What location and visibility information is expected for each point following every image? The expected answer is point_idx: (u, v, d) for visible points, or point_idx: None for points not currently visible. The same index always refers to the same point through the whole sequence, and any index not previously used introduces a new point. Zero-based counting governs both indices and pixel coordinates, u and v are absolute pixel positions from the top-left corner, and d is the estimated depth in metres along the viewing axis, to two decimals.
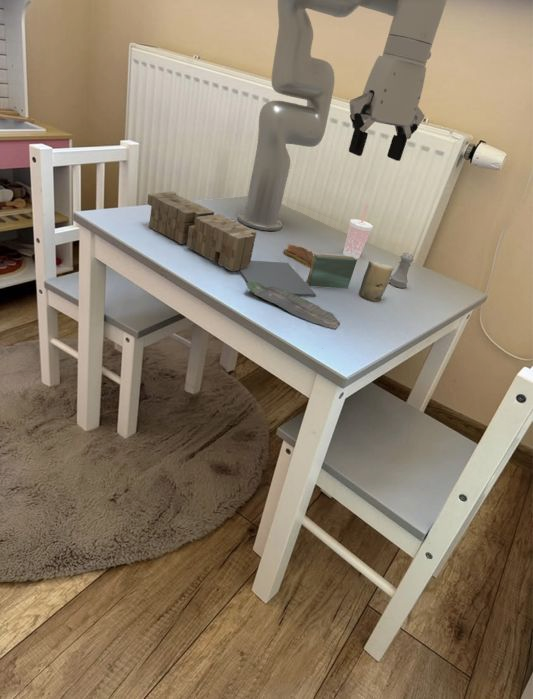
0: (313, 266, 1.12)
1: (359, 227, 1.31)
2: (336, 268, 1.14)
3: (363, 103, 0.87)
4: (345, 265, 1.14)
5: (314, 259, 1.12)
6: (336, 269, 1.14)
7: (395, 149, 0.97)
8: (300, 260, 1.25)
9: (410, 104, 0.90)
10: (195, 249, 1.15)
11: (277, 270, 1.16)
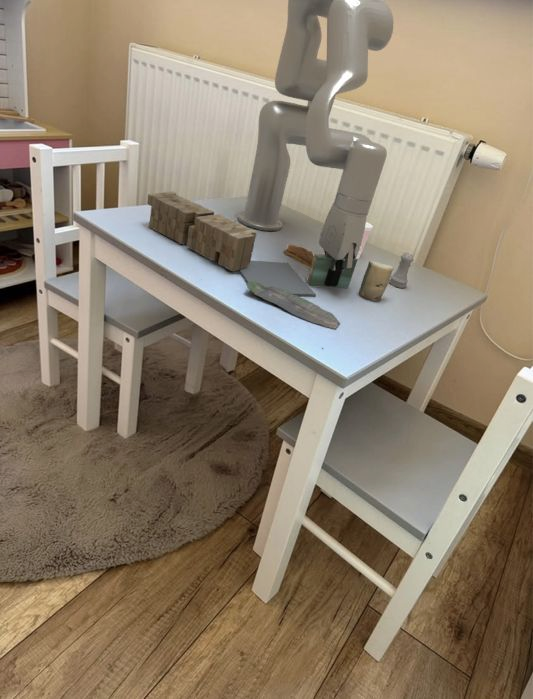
0: (313, 265, 1.12)
1: None
2: None
3: None
4: None
5: (314, 259, 1.12)
6: None
7: None
8: (300, 260, 1.25)
9: None
10: (195, 249, 1.15)
11: (277, 270, 1.16)
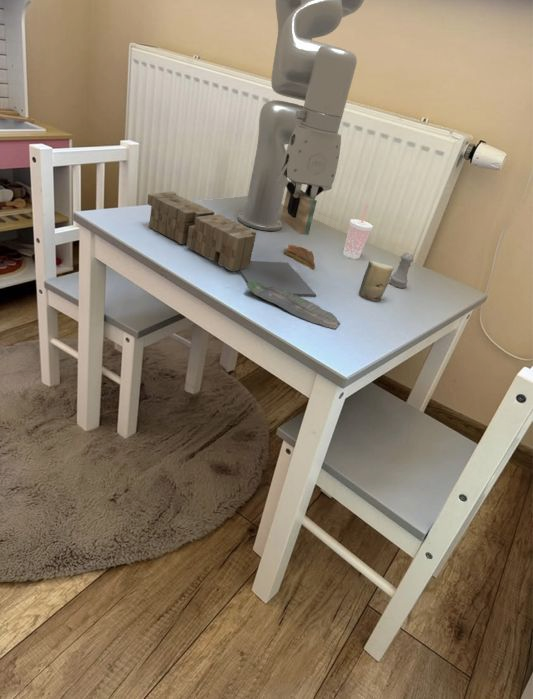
0: (309, 212, 1.01)
1: (359, 227, 1.31)
2: None
3: None
4: None
5: (310, 205, 1.01)
6: None
7: None
8: (300, 260, 1.25)
9: None
10: (195, 249, 1.15)
11: (277, 270, 1.16)
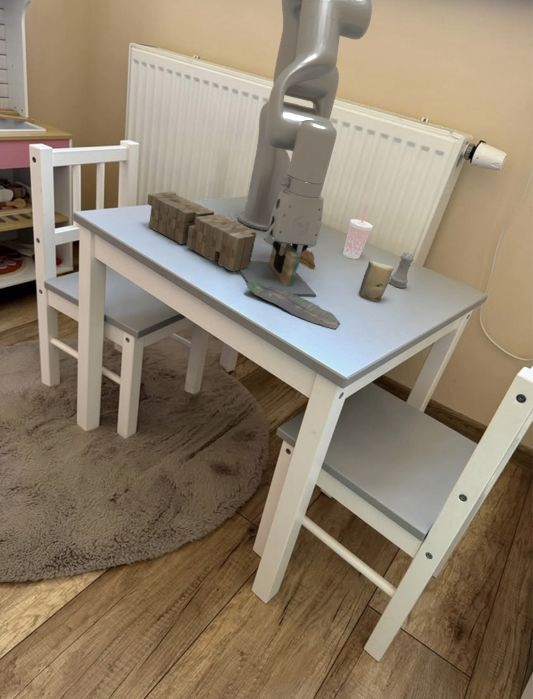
0: (293, 266, 1.08)
1: (359, 227, 1.31)
2: None
3: None
4: None
5: (294, 260, 1.07)
6: None
7: None
8: (301, 260, 1.25)
9: None
10: (195, 249, 1.15)
11: None
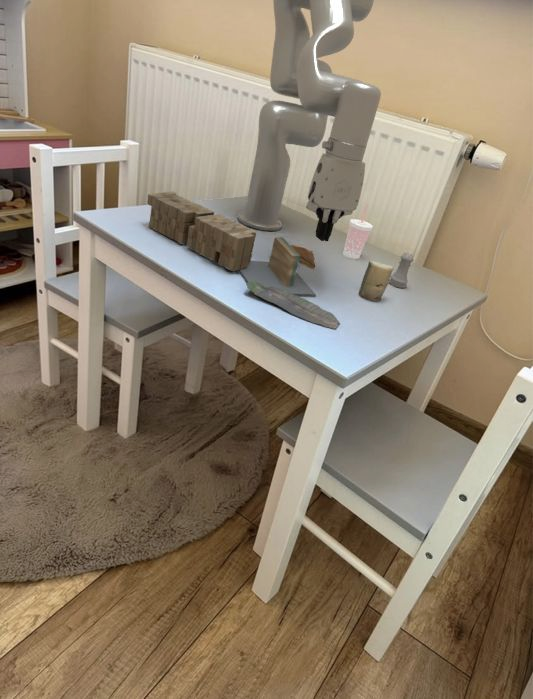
0: (293, 266, 1.08)
1: (359, 227, 1.31)
2: None
3: None
4: None
5: (294, 260, 1.07)
6: None
7: None
8: (301, 260, 1.25)
9: None
10: (195, 249, 1.15)
11: None
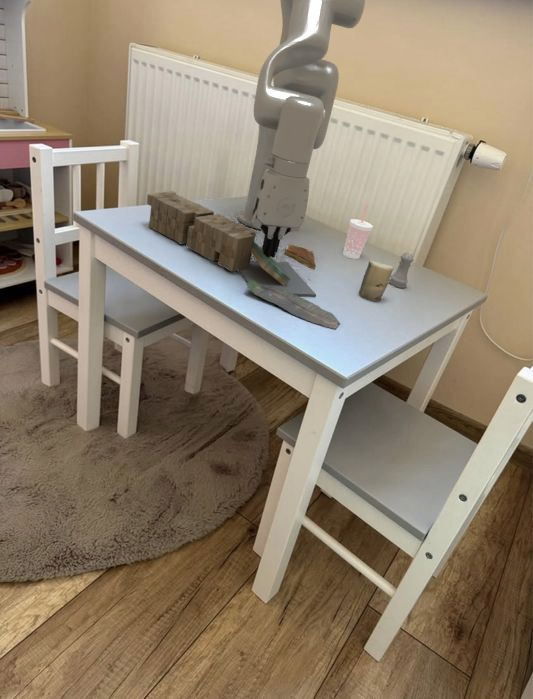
0: (273, 270, 1.07)
1: (359, 227, 1.31)
2: None
3: None
4: None
5: (268, 268, 1.06)
6: None
7: None
8: (301, 260, 1.25)
9: None
10: (195, 249, 1.15)
11: None
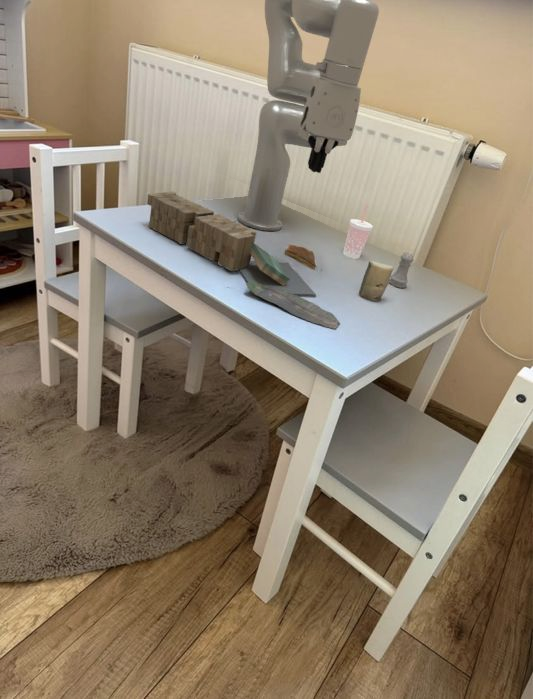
0: (271, 272, 1.07)
1: (359, 227, 1.31)
2: (266, 256, 1.10)
3: None
4: (261, 250, 1.11)
5: (266, 269, 1.06)
6: (267, 257, 1.10)
7: None
8: (301, 260, 1.25)
9: None
10: (195, 249, 1.15)
11: None
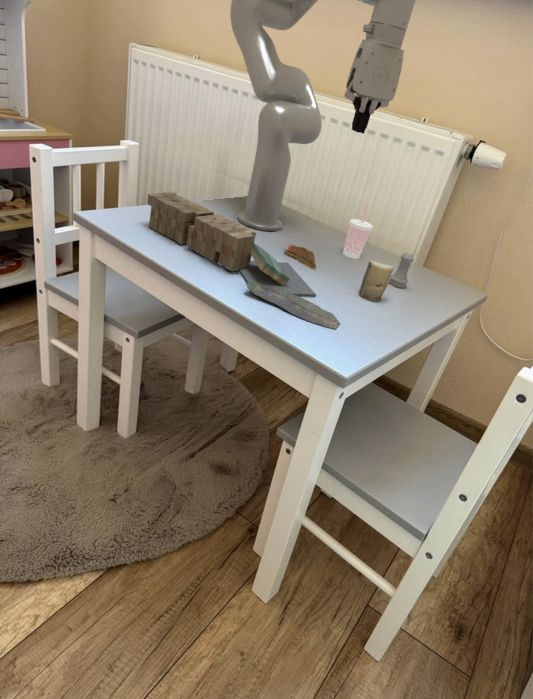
0: (271, 272, 1.07)
1: (359, 227, 1.31)
2: (266, 256, 1.10)
3: None
4: (261, 250, 1.11)
5: (266, 269, 1.06)
6: (267, 257, 1.10)
7: None
8: (301, 260, 1.25)
9: None
10: (195, 249, 1.15)
11: None
